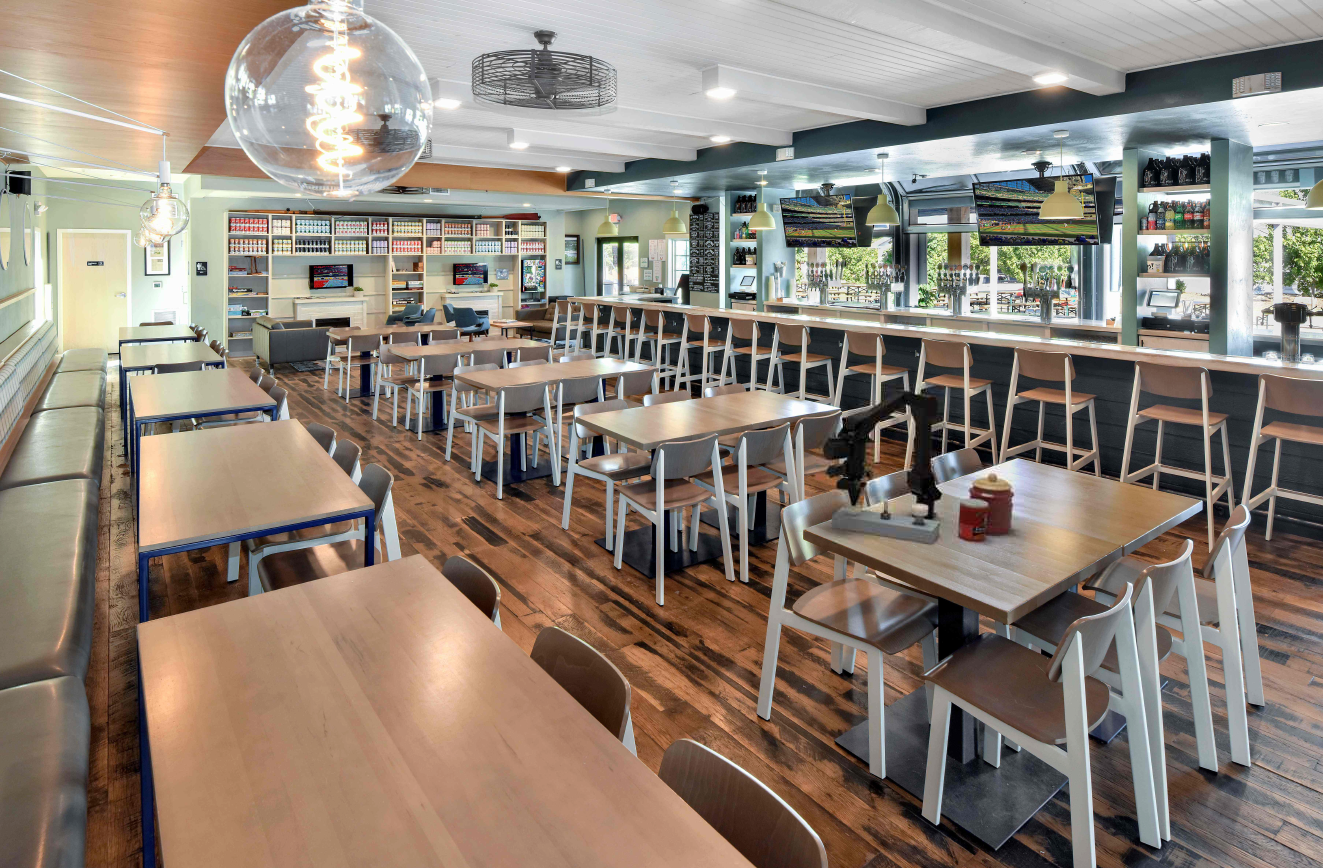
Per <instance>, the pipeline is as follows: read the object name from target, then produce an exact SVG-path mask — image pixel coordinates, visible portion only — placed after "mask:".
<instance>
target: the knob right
mask: <svg viewBox="0 0 1323 868" xmlns="http://www.w3.org/2000/svg"><path fill="white" fill-rule="evenodd" d="M911 514H913V515H915V516H914V518H915V521H914V522H915V523H917V524H923V523H924V519H925V518H924V516H926V515H928V506H927V505H925V504H916V503H912V504H911Z"/></svg>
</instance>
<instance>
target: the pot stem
mask: <svg viewBox="0 0 1323 868" xmlns="http://www.w3.org/2000/svg"><path fill="white" fill-rule="evenodd" d="M883 502H884V503H883V511H882V512H880V513H881V514H880V518H881V519H883V520H890V518H891V513H890V512H889V500H884V501H883Z"/></svg>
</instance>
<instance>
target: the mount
mask: <svg viewBox="0 0 1323 868" xmlns="http://www.w3.org/2000/svg"><path fill="white" fill-rule="evenodd" d="M881 513H882V512H877V511H871V510H864V509H861V514H860V515H857V516H856V515H849V514H846V506H842V507H841V508H839V509H838V510H836V512H834V513H833V514H832V516H831V519H832V520H831V528H833V529H838V528H839V530H844V529H845V530H846V531H850V532H856V533H863V534H869V535H876V536H880V537H881V536H882V537H888V538H893V539H898V540H904V541H905V540H906V541H911V542H917V543H921V544H922V543H923V544H928V545H932V544H933V543H934V541H936V539H937V538H938V536H939V535H940V523H941V521H938V520H933V519H926V518H924V523H923V524H917V523H915V522H914V521H915V517H913V516H912V517H911V516H905V515H897V514H891V513H890V514H891V518H890V520H883V519H881V518H880V514H881Z"/></svg>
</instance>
